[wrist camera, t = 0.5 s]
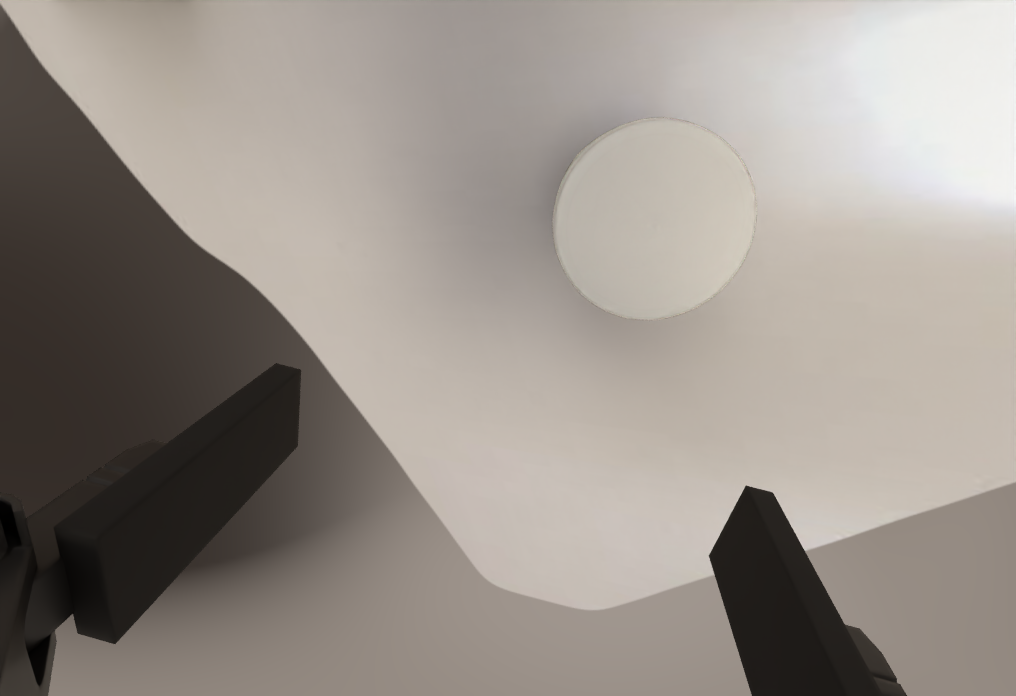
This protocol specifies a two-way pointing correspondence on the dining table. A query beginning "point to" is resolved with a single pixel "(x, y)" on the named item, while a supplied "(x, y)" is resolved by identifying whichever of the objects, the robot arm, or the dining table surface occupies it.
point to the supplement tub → (654, 218)
